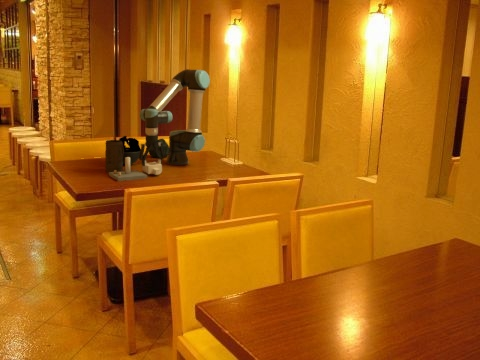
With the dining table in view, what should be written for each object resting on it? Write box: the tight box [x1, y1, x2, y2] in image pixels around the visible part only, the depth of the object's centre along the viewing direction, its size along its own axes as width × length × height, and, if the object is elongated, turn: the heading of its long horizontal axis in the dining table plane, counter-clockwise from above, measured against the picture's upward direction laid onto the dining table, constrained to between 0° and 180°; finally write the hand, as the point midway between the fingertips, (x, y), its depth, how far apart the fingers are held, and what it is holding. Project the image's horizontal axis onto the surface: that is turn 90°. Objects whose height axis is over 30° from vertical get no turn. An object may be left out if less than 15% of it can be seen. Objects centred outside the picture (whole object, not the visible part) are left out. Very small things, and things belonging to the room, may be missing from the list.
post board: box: [108, 157, 148, 182], centre depth 299 cm, size 18×16×12 cm
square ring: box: [142, 161, 163, 176], centre depth 308 cm, size 13×9×5 cm
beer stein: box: [104, 139, 124, 174], centre depth 314 cm, size 15×11×20 cm
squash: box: [148, 138, 169, 159], centre depth 365 cm, size 14×15×15 cm
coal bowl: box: [118, 135, 141, 166], centre depth 334 cm, size 20×20×19 cm
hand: (152, 170), depth 310 cm, fingers closed on square ring, 9 cm apart
